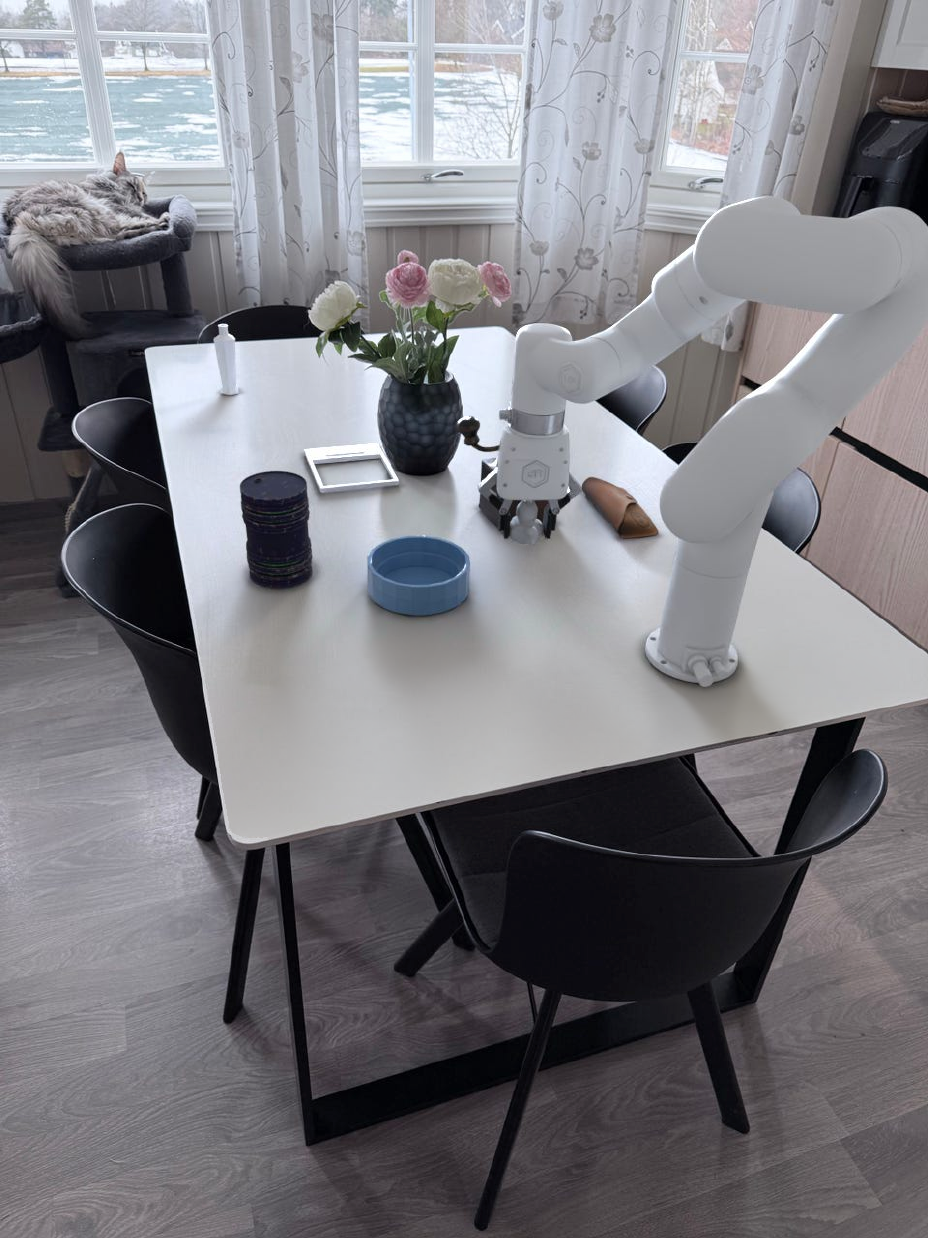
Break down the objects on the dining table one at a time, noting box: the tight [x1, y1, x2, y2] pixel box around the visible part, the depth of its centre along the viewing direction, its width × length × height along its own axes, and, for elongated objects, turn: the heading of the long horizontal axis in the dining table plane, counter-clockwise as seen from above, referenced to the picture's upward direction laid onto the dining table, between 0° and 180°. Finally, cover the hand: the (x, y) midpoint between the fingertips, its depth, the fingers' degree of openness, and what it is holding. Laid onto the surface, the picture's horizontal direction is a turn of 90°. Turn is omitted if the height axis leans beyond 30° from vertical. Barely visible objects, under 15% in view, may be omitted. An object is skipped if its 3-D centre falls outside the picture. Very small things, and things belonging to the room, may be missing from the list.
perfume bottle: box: [213, 323, 240, 396], centre depth 198 cm, size 5×4×15 cm
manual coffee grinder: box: [456, 415, 549, 528], centre depth 151 cm, size 16×11×18 cm
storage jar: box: [239, 470, 313, 590], centre depth 134 cm, size 10×10×15 cm
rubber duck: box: [509, 500, 545, 546], centre depth 131 cm, size 5×7×8 cm
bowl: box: [366, 535, 471, 616], centre depth 134 cm, size 15×15×5 cm
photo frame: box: [303, 442, 400, 494], centre depth 170 cm, size 15×1×18 cm
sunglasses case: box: [581, 476, 659, 540], centre depth 158 cm, size 18×7×7 cm
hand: (525, 533), depth 132 cm, fingers closed on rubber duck, 5 cm apart
